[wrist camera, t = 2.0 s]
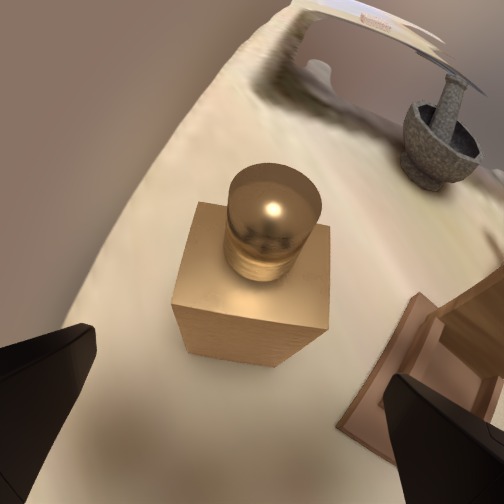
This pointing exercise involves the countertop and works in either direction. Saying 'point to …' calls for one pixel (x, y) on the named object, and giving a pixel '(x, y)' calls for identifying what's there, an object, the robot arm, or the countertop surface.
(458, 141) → the mortar and pestle
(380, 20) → the soap
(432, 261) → the countertop surface
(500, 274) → the bronze stepped stand
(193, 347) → the bronze perfume bottle
